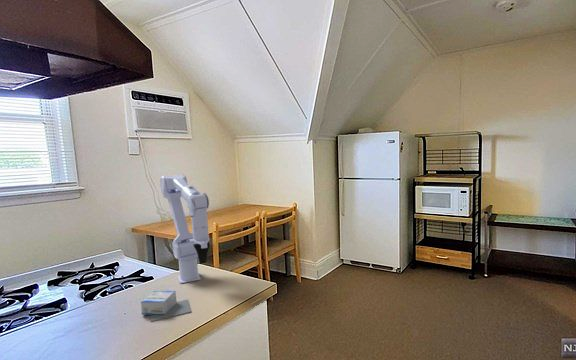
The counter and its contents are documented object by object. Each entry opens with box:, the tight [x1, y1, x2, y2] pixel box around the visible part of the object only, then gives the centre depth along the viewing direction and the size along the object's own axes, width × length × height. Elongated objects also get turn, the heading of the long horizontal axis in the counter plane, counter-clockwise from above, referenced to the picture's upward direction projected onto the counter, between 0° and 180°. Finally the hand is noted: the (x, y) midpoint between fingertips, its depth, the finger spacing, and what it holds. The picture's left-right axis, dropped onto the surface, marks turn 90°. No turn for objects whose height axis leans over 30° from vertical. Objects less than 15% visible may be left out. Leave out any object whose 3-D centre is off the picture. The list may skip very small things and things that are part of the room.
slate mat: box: [150, 299, 192, 323], centre depth 107 cm, size 10×12×1 cm
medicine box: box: [140, 290, 178, 316], centre depth 108 cm, size 8×4×9 cm
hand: (203, 262), depth 122 cm, fingers closed
